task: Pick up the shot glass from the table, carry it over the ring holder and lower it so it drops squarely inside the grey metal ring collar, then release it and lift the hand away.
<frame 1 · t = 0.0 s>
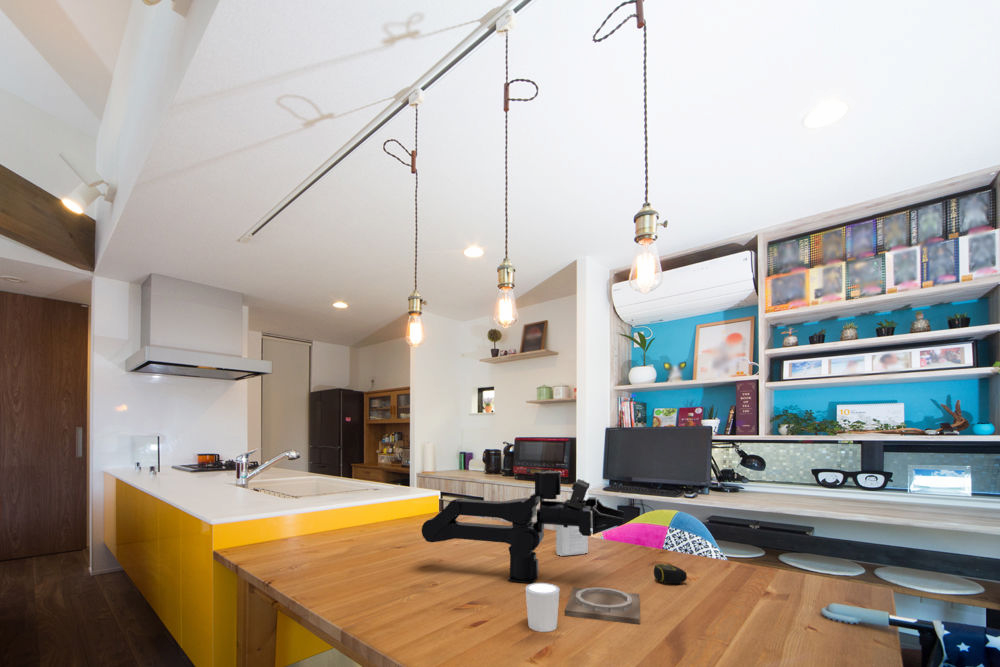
hand: (623, 517, 121), 17 cm above the table, fingers open, 9 cm apart
tape measure: (669, 582, 125), on the table
ring holder: (603, 606, 107), on the table
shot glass: (542, 626, 97), on the table
white rounded block: (572, 554, 149), on the table
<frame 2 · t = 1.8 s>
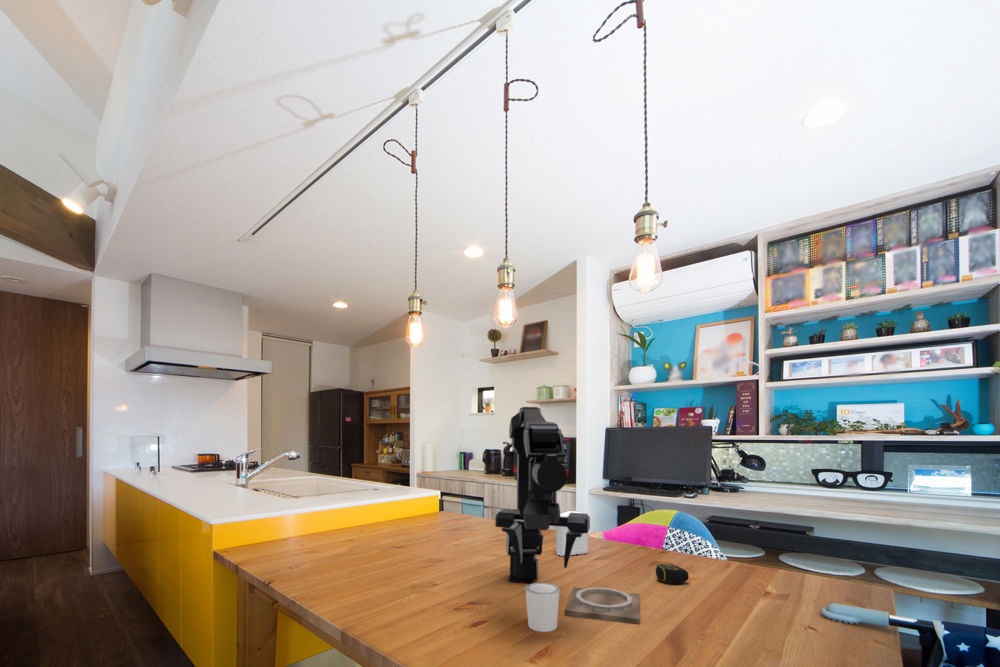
hand: (542, 565, 99), 11 cm above the table, fingers open, 9 cm apart
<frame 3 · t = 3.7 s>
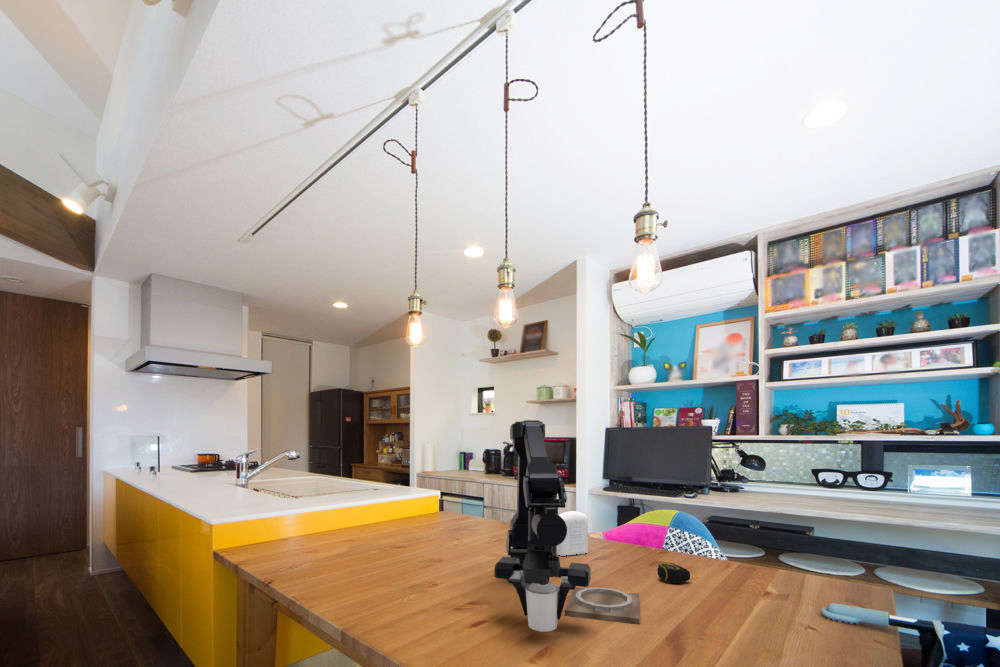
hand: (542, 617, 97), 2 cm above the table, fingers closed on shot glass, 6 cm apart
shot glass: (542, 626, 97), on the table, touching gripper
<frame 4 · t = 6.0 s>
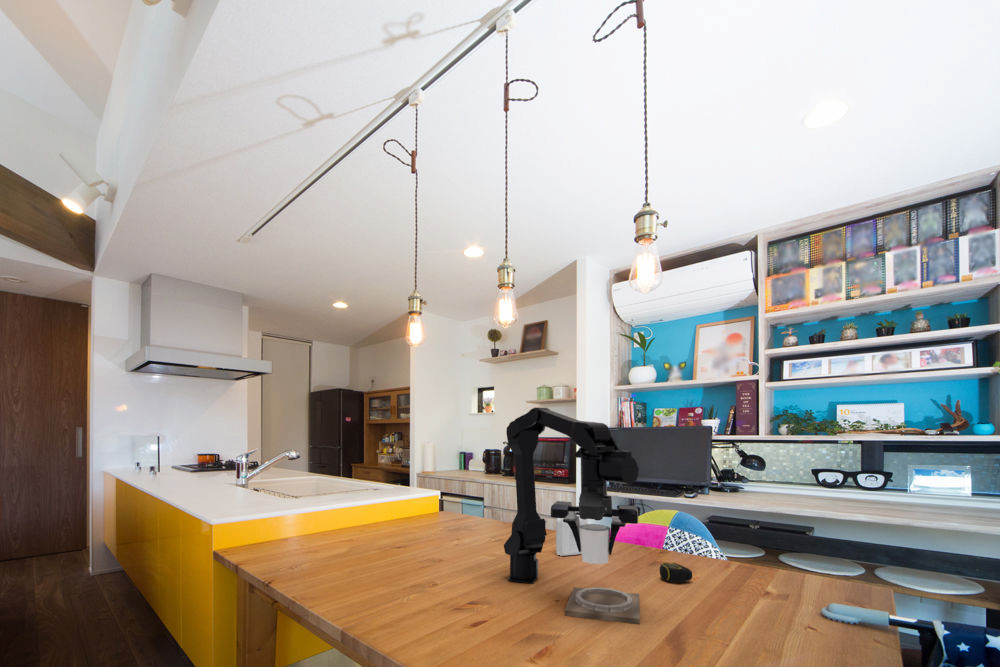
hand: (594, 553, 108), 11 cm above the table, fingers closed on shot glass, 6 cm apart
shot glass: (595, 561, 107), point 10 cm above the table, touching gripper
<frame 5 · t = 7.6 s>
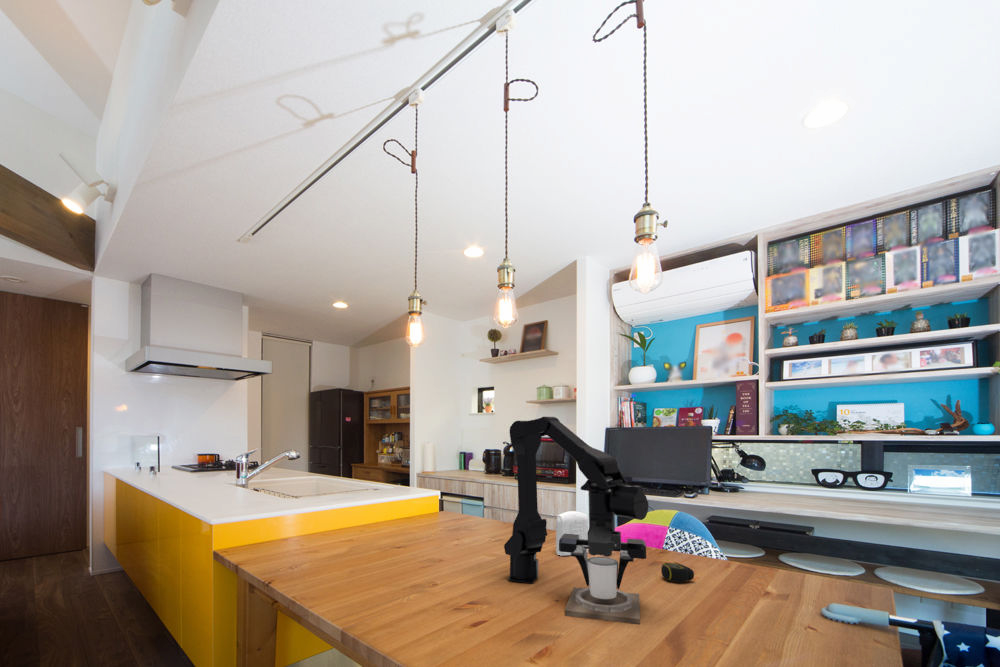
hand: (603, 587, 108), 4 cm above the table, fingers closed on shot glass, 6 cm apart
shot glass: (603, 595, 108), point 2 cm above the table, touching gripper
when the fingers open (3 cm above the table, at t = 8.6 s): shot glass stays where it is, resting on ring holder.
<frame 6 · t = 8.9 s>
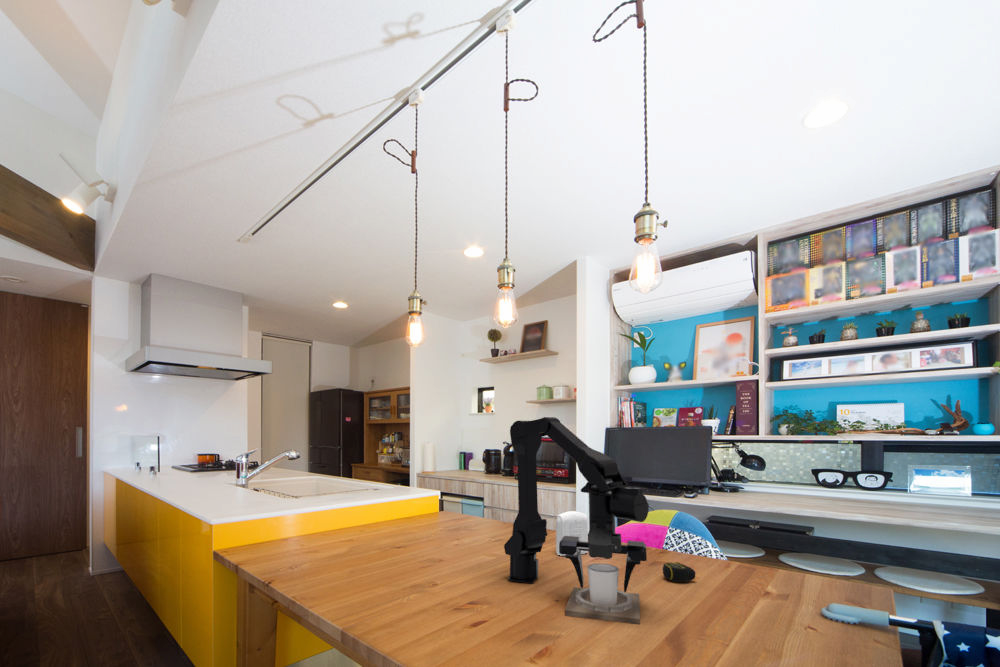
hand: (603, 589, 108), 3 cm above the table, fingers open, 9 cm apart
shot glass: (603, 602, 107), point 1 cm above the table, touching ring holder
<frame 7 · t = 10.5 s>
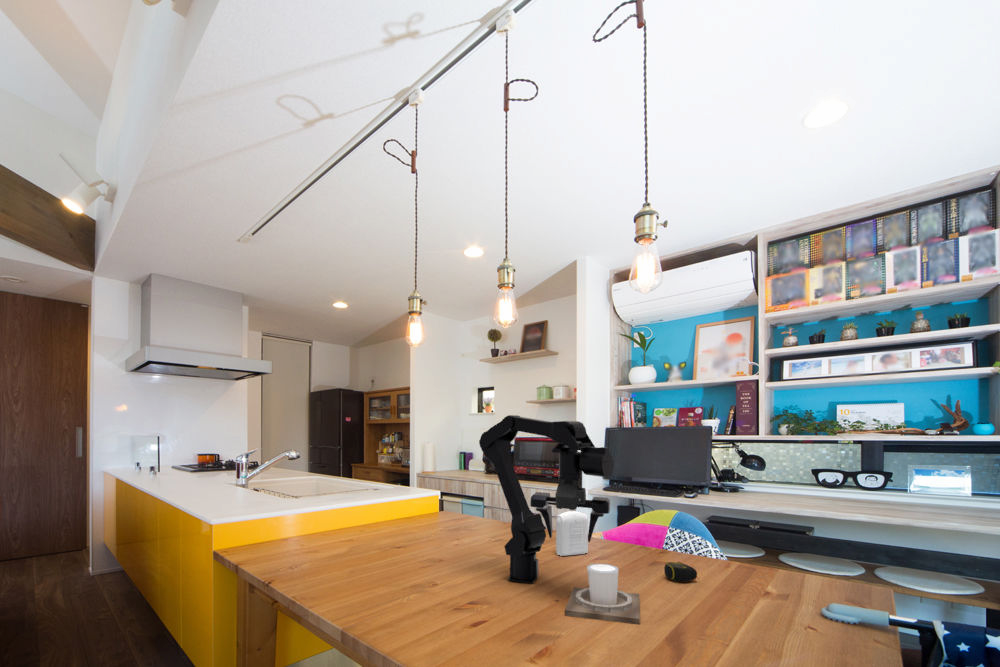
hand: (569, 539, 118), 12 cm above the table, fingers open, 9 cm apart
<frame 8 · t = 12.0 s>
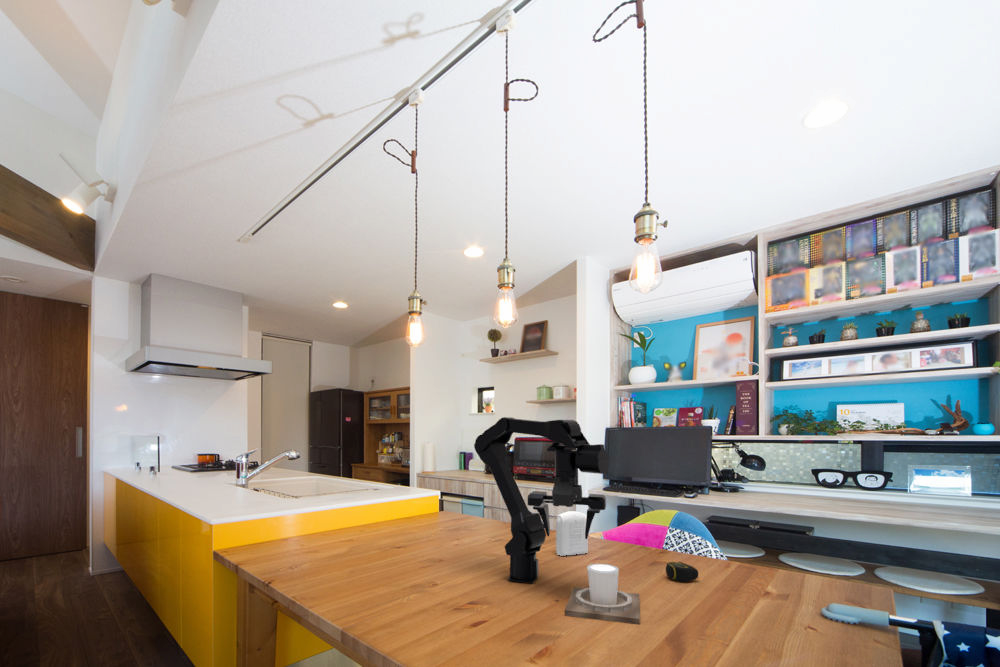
hand: (567, 537, 119), 12 cm above the table, fingers open, 9 cm apart
at the end: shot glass 0.1 cm from the ring holder (horizontally); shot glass tilted 0°; the gripper is holding nothing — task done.
